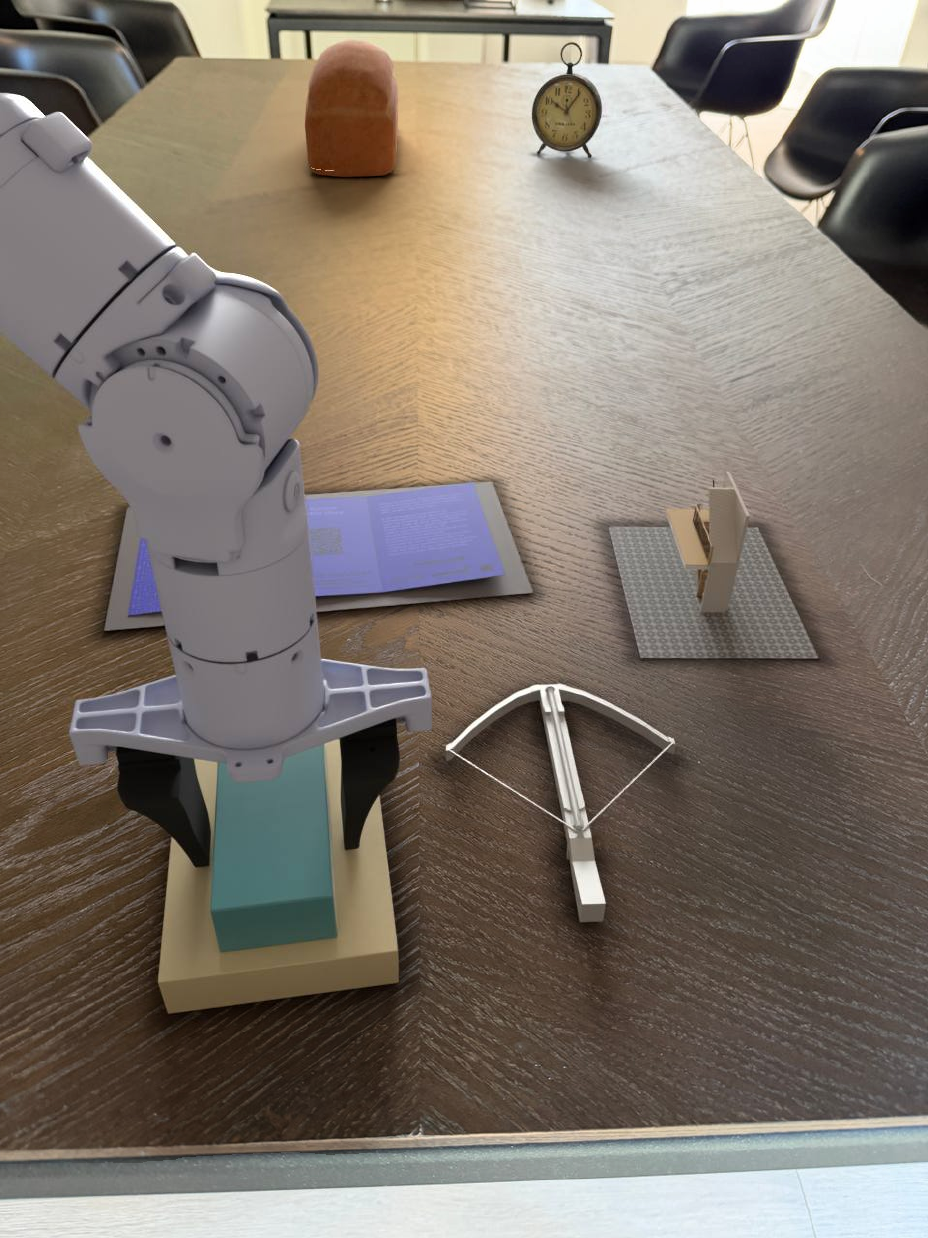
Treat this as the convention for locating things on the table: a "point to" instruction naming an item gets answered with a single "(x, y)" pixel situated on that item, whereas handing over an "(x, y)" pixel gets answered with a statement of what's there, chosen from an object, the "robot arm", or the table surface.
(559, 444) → the table surface
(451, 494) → the booklet
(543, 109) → the alarm clock
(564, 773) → the crossbow
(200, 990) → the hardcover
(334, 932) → the teal rectangular block
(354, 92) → the bread
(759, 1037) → the table surface
